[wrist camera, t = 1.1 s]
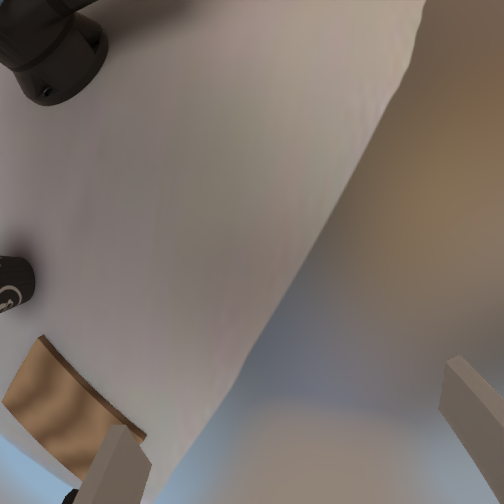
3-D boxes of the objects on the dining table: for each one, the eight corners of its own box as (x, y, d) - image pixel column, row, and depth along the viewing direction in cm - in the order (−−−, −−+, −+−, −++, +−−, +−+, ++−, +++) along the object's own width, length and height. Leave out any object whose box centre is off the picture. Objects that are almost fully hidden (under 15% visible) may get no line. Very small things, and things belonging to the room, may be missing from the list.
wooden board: (6, 398, 36) (1, 402, 34) (43, 335, 36) (37, 337, 34) (91, 481, 36) (88, 486, 35) (146, 434, 36) (143, 440, 35)
